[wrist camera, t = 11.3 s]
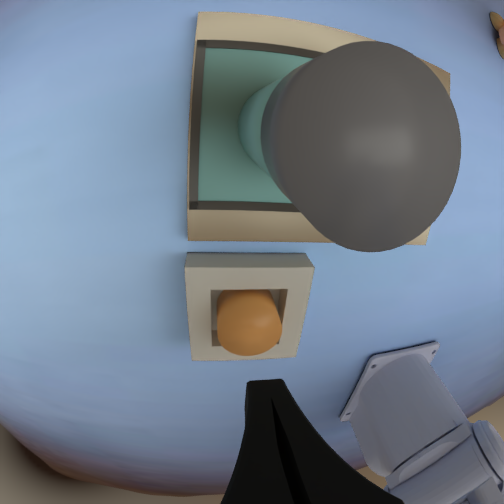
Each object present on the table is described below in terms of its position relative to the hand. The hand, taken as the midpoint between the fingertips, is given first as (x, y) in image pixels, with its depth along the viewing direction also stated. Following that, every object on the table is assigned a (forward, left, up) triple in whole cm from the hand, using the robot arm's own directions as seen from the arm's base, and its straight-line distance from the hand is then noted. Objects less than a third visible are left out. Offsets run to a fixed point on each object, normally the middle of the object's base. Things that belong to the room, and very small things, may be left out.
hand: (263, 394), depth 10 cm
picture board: (+10, -4, -7) cm, 12 cm away
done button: (0, 0, -6) cm, 6 cm away
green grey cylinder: (+10, -1, -6) cm, 11 cm away
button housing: (0, 0, -7) cm, 7 cm away
